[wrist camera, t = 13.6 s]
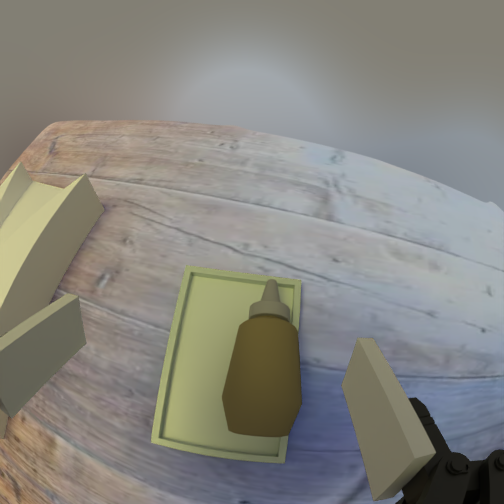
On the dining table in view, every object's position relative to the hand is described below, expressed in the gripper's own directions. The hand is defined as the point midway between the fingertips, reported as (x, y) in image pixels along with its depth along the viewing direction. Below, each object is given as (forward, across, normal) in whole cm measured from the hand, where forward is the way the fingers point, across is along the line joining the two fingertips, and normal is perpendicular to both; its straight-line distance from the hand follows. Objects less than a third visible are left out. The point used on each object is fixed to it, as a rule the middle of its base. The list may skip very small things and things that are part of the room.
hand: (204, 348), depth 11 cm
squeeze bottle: (+8, +4, -16) cm, 18 cm away
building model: (+17, -41, -13) cm, 46 cm away
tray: (+17, 0, -14) cm, 22 cm away
